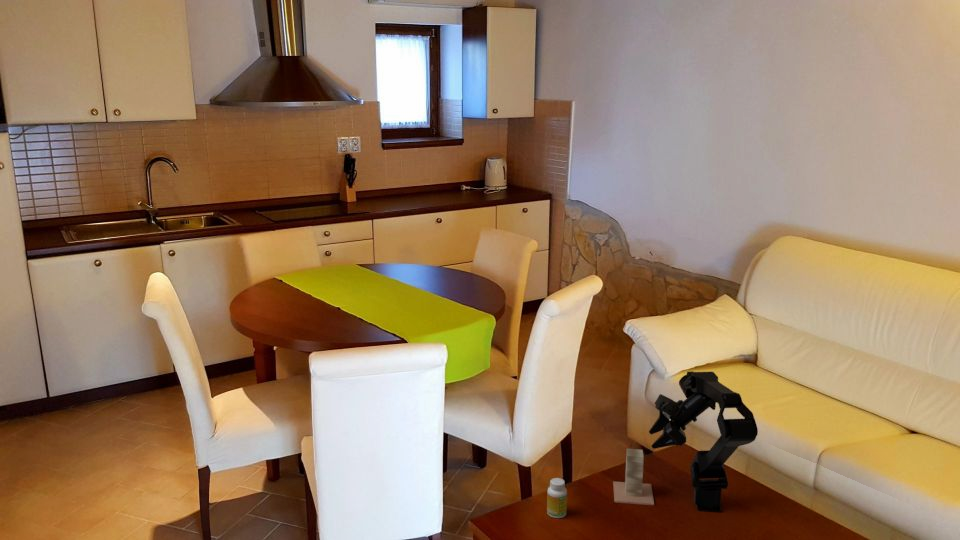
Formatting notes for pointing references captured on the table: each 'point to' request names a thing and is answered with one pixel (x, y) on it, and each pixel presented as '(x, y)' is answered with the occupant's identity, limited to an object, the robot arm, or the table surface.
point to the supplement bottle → (557, 498)
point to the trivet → (622, 498)
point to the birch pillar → (634, 472)
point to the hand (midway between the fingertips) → (651, 440)
